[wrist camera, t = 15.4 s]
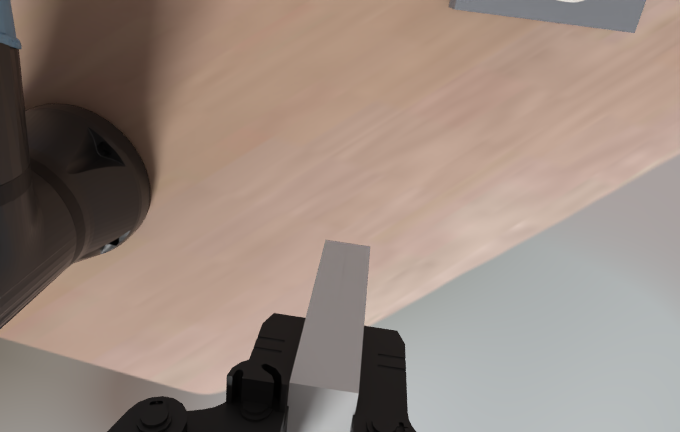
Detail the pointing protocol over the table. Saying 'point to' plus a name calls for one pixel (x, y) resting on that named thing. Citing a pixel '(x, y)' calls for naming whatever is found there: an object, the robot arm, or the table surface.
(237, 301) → the table surface
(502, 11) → the console
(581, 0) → the plunger
